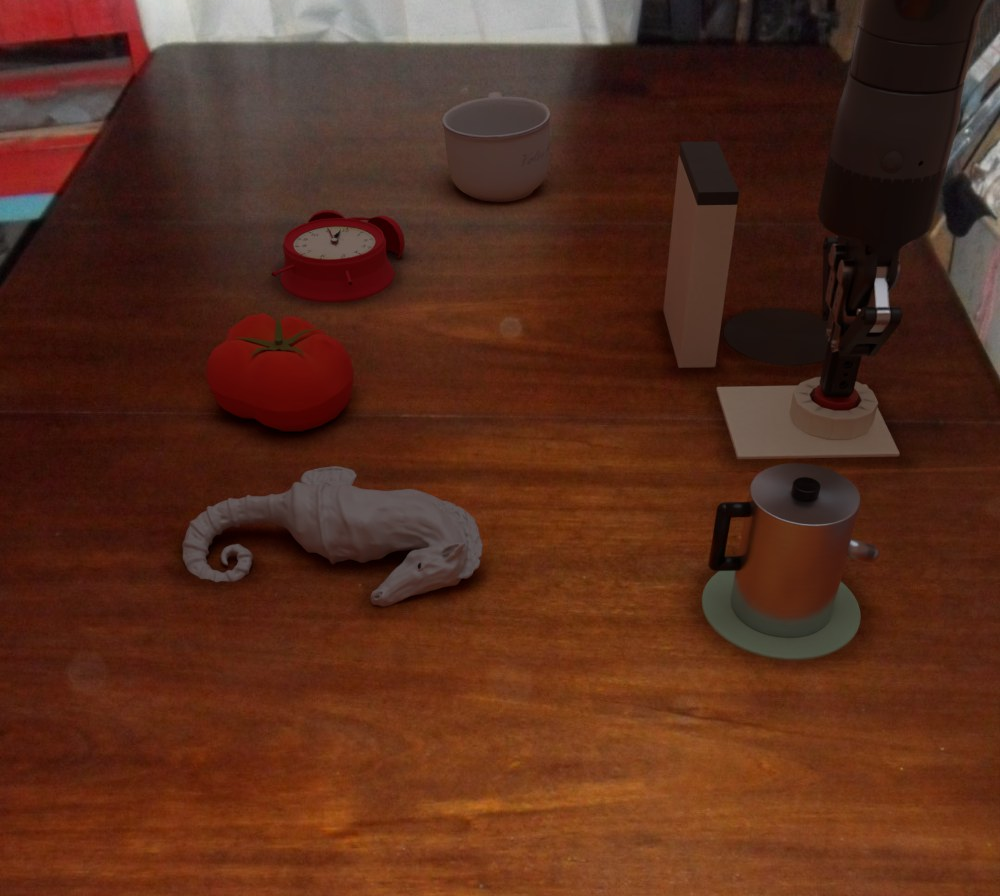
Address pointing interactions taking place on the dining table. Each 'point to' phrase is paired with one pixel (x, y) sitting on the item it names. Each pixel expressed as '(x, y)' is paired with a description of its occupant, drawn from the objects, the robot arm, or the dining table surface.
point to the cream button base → (802, 424)
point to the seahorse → (350, 531)
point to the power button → (835, 400)
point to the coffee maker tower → (699, 252)
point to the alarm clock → (340, 257)
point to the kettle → (790, 547)
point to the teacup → (498, 146)
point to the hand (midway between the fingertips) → (835, 391)
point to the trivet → (774, 647)
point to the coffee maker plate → (778, 336)
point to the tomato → (281, 373)
